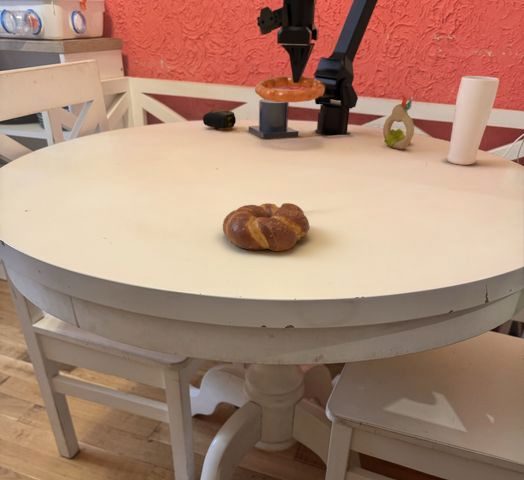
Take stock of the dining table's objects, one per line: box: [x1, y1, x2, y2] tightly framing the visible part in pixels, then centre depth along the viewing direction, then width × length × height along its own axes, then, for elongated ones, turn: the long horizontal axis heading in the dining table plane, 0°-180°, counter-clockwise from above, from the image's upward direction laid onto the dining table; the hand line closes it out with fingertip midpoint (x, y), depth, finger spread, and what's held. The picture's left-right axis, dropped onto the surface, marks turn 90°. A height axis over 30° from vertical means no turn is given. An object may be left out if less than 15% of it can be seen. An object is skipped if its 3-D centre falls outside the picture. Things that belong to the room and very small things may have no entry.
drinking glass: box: [446, 75, 500, 166], centre depth 96 cm, size 7×7×15 cm
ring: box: [254, 75, 326, 103], centre depth 101 cm, size 14×14×2 cm
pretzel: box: [222, 202, 311, 252], centre depth 64 cm, size 12×11×4 cm
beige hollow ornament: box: [382, 90, 415, 151], centre depth 107 cm, size 8×8×12 cm
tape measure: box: [202, 109, 237, 131], centre depth 122 cm, size 7×7×4 cm
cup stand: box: [248, 98, 300, 140], centre depth 117 cm, size 9×9×7 cm
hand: (296, 82), depth 106 cm, fingers closed on ring, 2 cm apart
